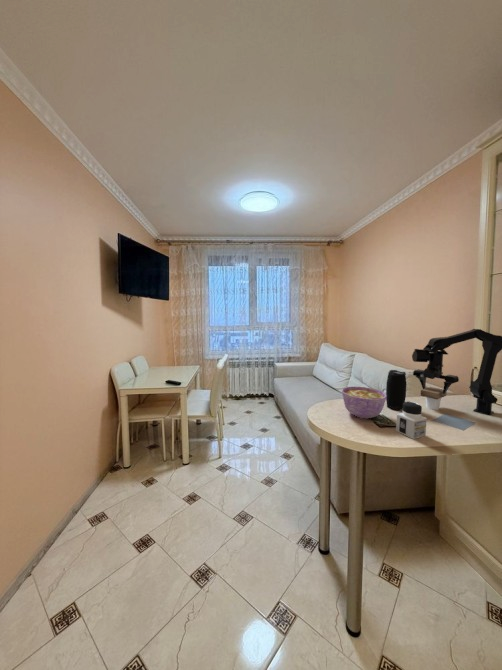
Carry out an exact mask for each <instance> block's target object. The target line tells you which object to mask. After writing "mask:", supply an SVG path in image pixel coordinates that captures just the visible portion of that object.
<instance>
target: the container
mask: <svg viewBox="0 0 502 670" xmlns="http://www.w3.org/2000/svg"><path fill="white" fill-rule="evenodd" d="M422 410H423V409H422V405H421V404H419V403H417V402H414V401H405V402H404V403H403V408H402V412H399V413H397V414H396V424H395V432H397V433H399V434H401V435H403V434H404V436H405V435H406V437H407V438H411V439H412V440H415V439H419V438H422V437H425V436H426V435H427V419H428V418H427V417H425V416H423V415H422Z"/></svg>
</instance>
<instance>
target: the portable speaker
mask: <svg viewBox="0 0 502 670" xmlns="http://www.w3.org/2000/svg"><path fill="white" fill-rule="evenodd" d="M406 375H407V372H406V371H399V370H397V369H390V370H389V371H388V373H387V378H386V379H387V380H386V390H385V391H386V392H385V394H386V395H387V397H386V400H385V402H386V407H387V408H392V409H393V410H394V411H403V403H404V402H406V398H407V378H406V377H407V376H406Z"/></svg>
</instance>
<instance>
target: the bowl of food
mask: <svg viewBox="0 0 502 670" xmlns="http://www.w3.org/2000/svg"><path fill="white" fill-rule="evenodd" d="M341 393H342V398H343V402H344V403H343V404H344V406H345V407H344V408H345V409H346V410H347V411H348V412H349V413H350V414H352V415H353V416H354V415H355V416H354V417H356V416H357V417H356V418H358V417H360V418H359V419H363V418H370V419H371V418H375V417H378V416H379V415H380V414H381V413H382V411H383V408H384V406H385V403H386V397H387V395H386V392H384V391H382V390H379V389H376V388H372V387H366V386H346V387H344V388H342V389H341Z"/></svg>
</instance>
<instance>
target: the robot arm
mask: <svg viewBox="0 0 502 670" xmlns="http://www.w3.org/2000/svg"><path fill="white" fill-rule="evenodd" d="M472 339H473V340H474V339H476V340H478V341H481V342H482V343H481V346H482V348H483V355H482V358H481V359H482V360H481V362H480V367H479V371H478V374H477V378H476V379H474V380H471V381H470V385H469V387H468V389H469V391H470V393H471V394H472V396H473V398H476V404H475V405H476V407H475V408H474V409H473V412H476V413H481V414H485V415H487V416H489V415H492V414H494V413H495V411H492V409H493V408H492V407H493V404H497V402H498V398H497V397H496V396H495V395H494V394H493V386H492V383H491V379H492V377H493V376H492V375H493V371H494V368H495V364H496V360H497V356H498V354H499V353H500V352H501V351H502V335H498V334H493V333H491V332H487V331H484V330H483V329H481V328H480V329H478V328H473V329H471V330H467V331H463V332H459V333H456V334H453V335H449V336H443V337H442V336H441V337H433V338H430V339H429V341H428V343H427V344H426V345H425V346H424V348H423V349H421V348H420V349H419V348H414V350H413V352H412V354H411V358H412V361H413V362H415V363H428V364H427V366H426V368H425V369H414V370H413V372H412V375H413V376H415V378H416V379H418V380H419V382H420V384H421V389H425V388H426V382H427V379H431V380H434V379H441V380H444V381H443V388H442V389H443V394H445V393H446V394H447V391H448V389H449V388H450V387H451V386H452V385H453V384H456V383H459V382H460V380H459V379H460V378H459V376H458V375H453V374H447V375H443V367H444V364H443V359H444V355H449V353H448V352H447V351H446V350H445V349H448V348H450V347H451V346H452V345H454V344H458V343H462V342H466V341H469V340H472Z"/></svg>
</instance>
